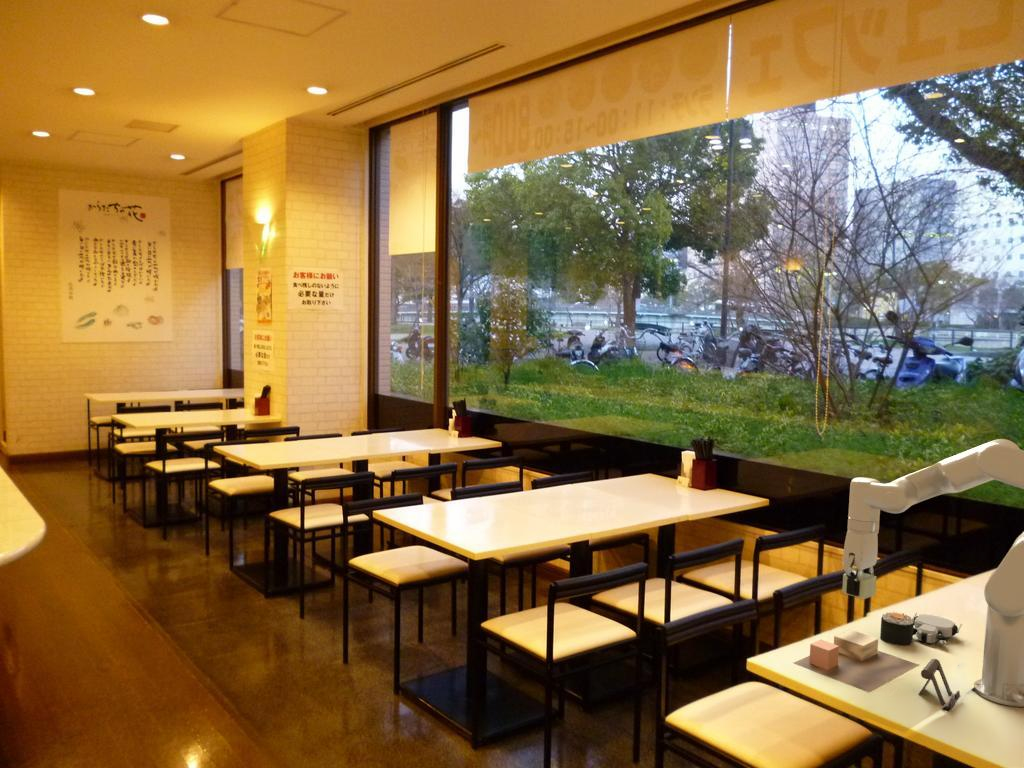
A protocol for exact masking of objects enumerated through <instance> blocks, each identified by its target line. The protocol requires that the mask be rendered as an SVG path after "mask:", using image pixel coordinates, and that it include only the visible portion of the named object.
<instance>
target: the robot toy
mask: <svg viewBox="0 0 1024 768" xmlns="http://www.w3.org/2000/svg"><path fill="white" fill-rule="evenodd" d="M912 618H913V619H914V625H913V636H915V635H916V638H917V640H918V641H920V642H925V643H928V644H932V643H933V644H935V643H936V642H937V641H938V643H939V644H940V645H947V643H948V642H947V639H946V638H952V636H953V637H954V636H955V635H957V634H959V632H960V629H961V627H962V626H963V624H962V623H960V626H959V627H958V626H957V625H956V623H955V621H954V622H953V620H950V619H948V618H944V617H941V616H938V615H934V614H933V615H932V614H926V613H923V614H918V612H915V613H914V615H913V617H912ZM945 637H946V638H945Z"/></svg>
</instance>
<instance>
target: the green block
mask: <svg viewBox="0 0 1024 768" xmlns="http://www.w3.org/2000/svg"><path fill="white" fill-rule="evenodd" d="M852 572H854V574H855V575H856V571H853V570H852ZM858 581H860V588H859V596H854V595H850V594H847V593H846V589H847V578H846V573H844V574H842V586H841V587H842V588H841V589H842V591H841V593H842V594H845V595H849V596H851V597H855V598H857V599H862V600H866V599H869V598H871V597H873V596H876V592H877V591H876V589H877V576H876V575H874V574H873V575H870V574H867V573H863V572H860V576H859V580H858Z"/></svg>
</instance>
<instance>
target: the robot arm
mask: <svg viewBox="0 0 1024 768" xmlns="http://www.w3.org/2000/svg"><path fill="white" fill-rule="evenodd" d="M994 480H996V481H998V482H1001V483H1003V484H1006V485H1010V486H1013V487H1016V488H1019V489H1023V490H1024V450H1023V449H1021V448H1020V447H1019V446H1018V445H1017V444H1016V443H1014V442H1013V441H1011V440H1009V439H1005V438H997V439H994V440H991V441H988V442H986V443H982V444H981V445H977V446H975V447H972V448H970V449H968V450H965V451H963V452H959V453H957V454H956V455H955V454H954V455H953V456H950V457H947V458H944V459H942V460H940V461H938V462H936V463H934V464H932V465H930V466H927V467H925V468H922V469H920V470H917V471H914V472H912V473H908V474H906V475H904V476H902V477H899V478H897V479H895V480H892V481H891V482H888V483H881V481H880V480H878V479H875V478H871V477H860V476H859V477H854V478H852V479H851V482H850V485H849V499H848V500H849V503H848V515H847V517H848V519H847V531H846V534H845V535H846V536H845V540H844V546H843V553H842V566H843V571H844V574H846V578H847V589H846V593H847V594H846V595H848V594H850V595H849V596H851V595H854V596H853V597H855V596H859V588H860V581H858V580H859V576H860V572H863V573H867V574H870V575H874V573H875V572H874V569H875V568H876V567H875V566H876V564H877V561H878V554H879V553H878V552H879V551H878V550H879V548H878V547H879V544H878V543H879V542H878V541H879V540H878V537H879V536H878V534H879V530H880V515H881V511H883V512H886V513H890V514H900V513H904V512H905V511H906V510H908V509H909V508H910V507H911V506H913V505H916V504H919V503H922V502H923V501H926V500H929V499H931V498H934V497H938V496H940V495H943V494H950V493H951V494H956V493H962V492H964V491H967V490H969V489H972V488H975V487H977V486H980V485H982V484H986V483H988V482H990V481H994ZM853 566H854V567H853ZM855 567H856V568H855ZM852 571H856V575H855V574H854V572H852ZM983 595H984V596H983V597H984V601H985V602H986V604H987V611H986V620H985V621H986V622H985V632H984V645H983V660H982V674H981V678H980V679H977V680H975V681H974V683H973V689H974V691H975V693H977V694H978V695H979V696H981V697H983V698H984V699H986V700H989V701H991V702H994V703H997V704H1001V705H1004V706H1010V707H1017V708H1019V707H1020V708H1021V707H1023V708H1024V531H1022V533H1021V534H1019V535H1018V537H1016V539H1015V540H1014V542H1013V544H1012V546H1011V547H1010V548H1009V550H1008V552H1007V553H1006V555H1005V556H1004V557H1003V559H1002V561H1001V562H1000V564H999V565H998V566H997V568H996V569H994V570H993V571H992V573H991V574H990V576H989V577H988V580H987V581H986V583H985V585H984V590H983Z"/></svg>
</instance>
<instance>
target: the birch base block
mask: <svg viewBox="0 0 1024 768" xmlns="http://www.w3.org/2000/svg"><path fill="white" fill-rule="evenodd" d="M833 644H835V645H838V646H839V653H842V654H844V655H847V656H850V657H853V658H856V659H858V660H861V661H863V660H865V659H867V658H869V657H871V656H873V655H875V654H877V652H878V651H879V638H877V637H874V636H871V635H868V634H865V633H863V632H859V631H856V630H853V629H851V628H850V629H847V630H845V631H843V632H841V633H838V634H836V635H834V637H833Z"/></svg>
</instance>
